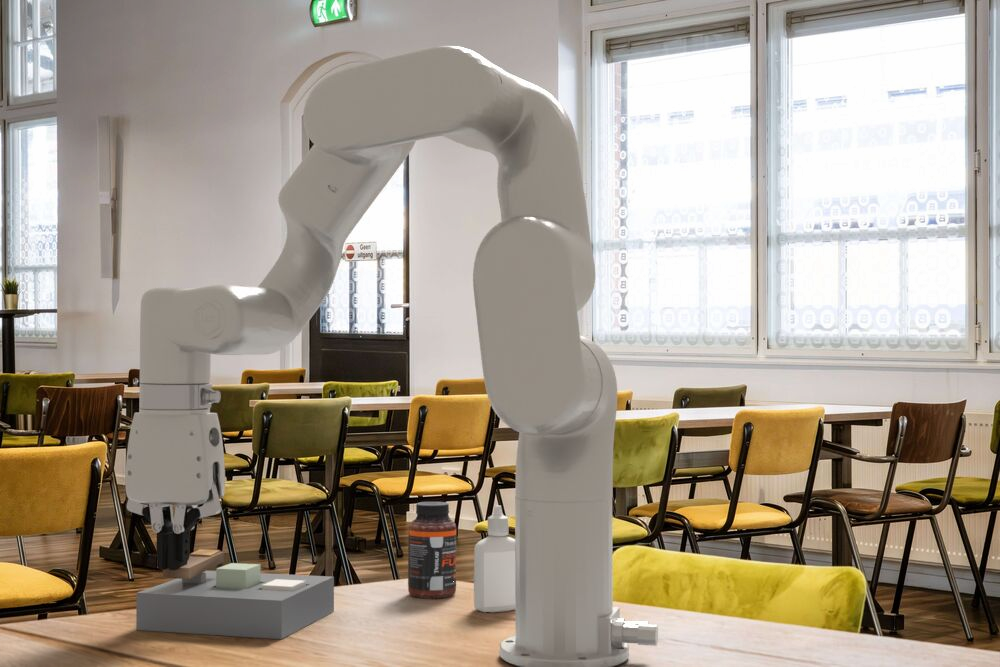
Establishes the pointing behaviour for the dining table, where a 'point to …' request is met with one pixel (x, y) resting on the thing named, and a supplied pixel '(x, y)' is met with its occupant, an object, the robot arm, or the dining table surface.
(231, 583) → the sage button
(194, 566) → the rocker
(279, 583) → the white button
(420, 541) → the supplement bottle
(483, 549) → the eye dropper bottle
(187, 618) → the console
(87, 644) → the dining table surface
